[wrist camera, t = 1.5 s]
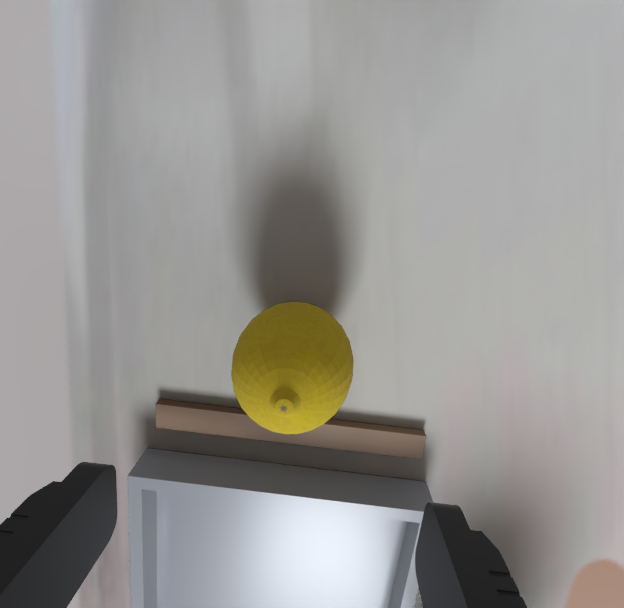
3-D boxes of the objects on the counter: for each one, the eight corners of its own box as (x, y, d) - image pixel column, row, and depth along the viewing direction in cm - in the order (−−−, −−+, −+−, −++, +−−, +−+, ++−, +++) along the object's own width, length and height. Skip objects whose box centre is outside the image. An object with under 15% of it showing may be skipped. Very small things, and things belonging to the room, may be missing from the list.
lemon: (234, 308, 22) (182, 371, 14) (325, 270, 21) (323, 314, 13) (276, 391, 23) (250, 490, 15) (363, 357, 22) (382, 444, 14)
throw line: (159, 398, 23) (155, 403, 23) (423, 430, 23) (426, 436, 23) (159, 422, 24) (155, 427, 23) (419, 452, 24) (421, 459, 23)
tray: (147, 448, 24) (127, 475, 22) (425, 481, 24) (436, 513, 22) (149, 636, 29) (133, 676, 26) (384, 665, 29) (389, 708, 26)
